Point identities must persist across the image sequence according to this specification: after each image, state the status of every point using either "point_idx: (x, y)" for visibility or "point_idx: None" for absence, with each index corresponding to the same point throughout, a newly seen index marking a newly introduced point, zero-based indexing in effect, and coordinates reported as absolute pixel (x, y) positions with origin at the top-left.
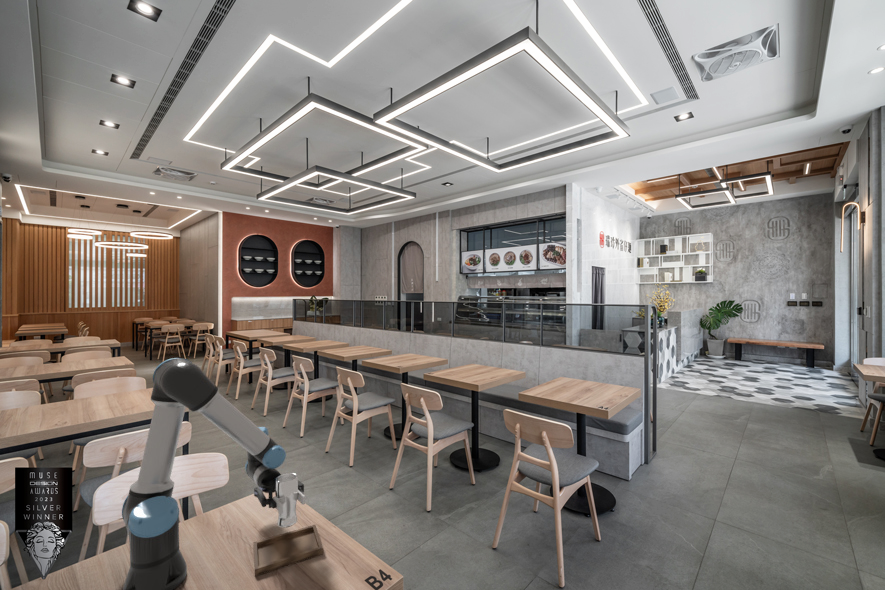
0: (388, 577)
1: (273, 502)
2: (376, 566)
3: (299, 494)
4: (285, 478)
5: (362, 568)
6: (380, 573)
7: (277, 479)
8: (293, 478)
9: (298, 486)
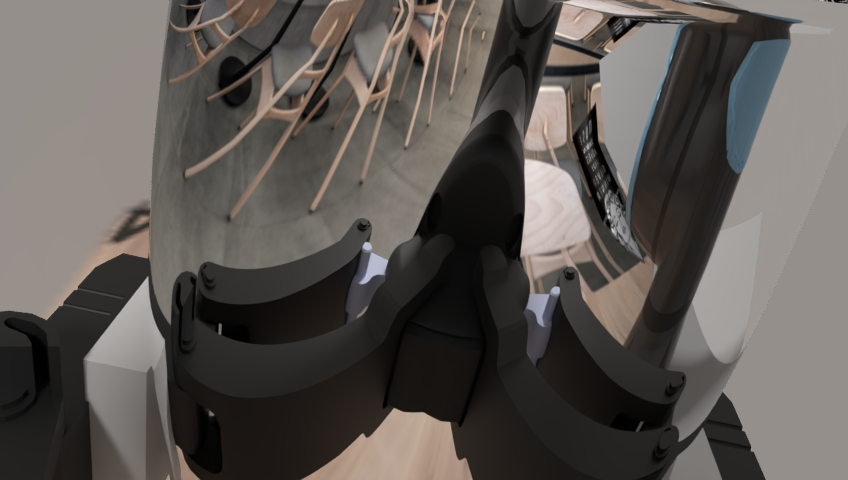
0: (144, 207)
1: (707, 420)
2: (100, 257)
3: None
4: (385, 190)
5: None
6: (137, 232)
7: (811, 91)
8: (182, 72)
9: (29, 324)
